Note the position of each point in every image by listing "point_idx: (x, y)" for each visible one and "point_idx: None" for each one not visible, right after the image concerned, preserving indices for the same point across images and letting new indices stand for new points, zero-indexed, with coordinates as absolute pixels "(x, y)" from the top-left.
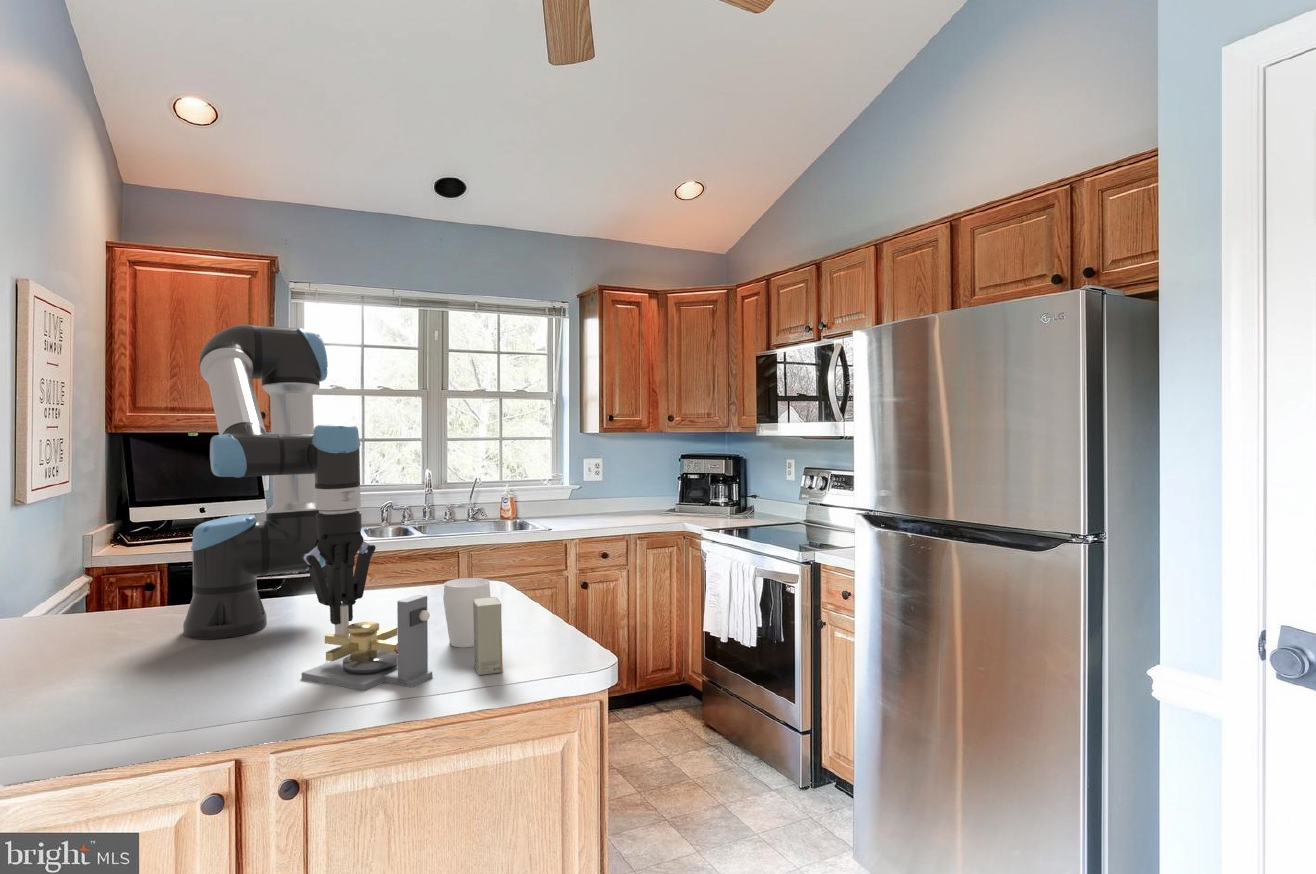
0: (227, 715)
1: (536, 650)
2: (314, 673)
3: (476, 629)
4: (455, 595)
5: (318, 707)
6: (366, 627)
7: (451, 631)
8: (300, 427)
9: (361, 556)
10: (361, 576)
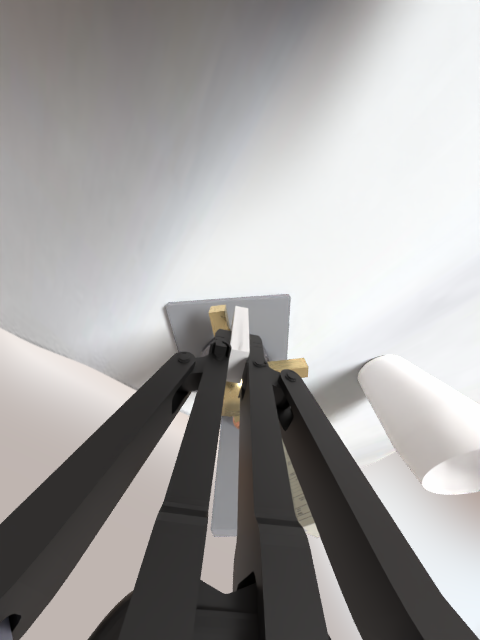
0: (53, 332)
1: (365, 432)
2: (175, 323)
3: (294, 482)
4: (407, 458)
5: (138, 384)
6: (224, 409)
7: (371, 385)
8: None
9: (380, 620)
10: (298, 473)
